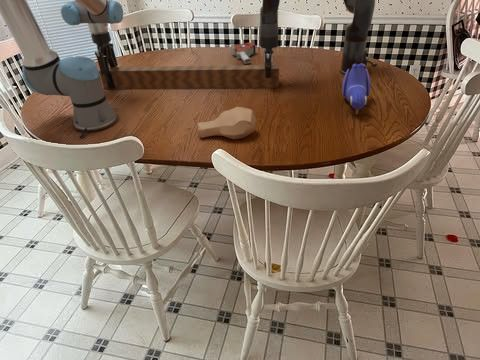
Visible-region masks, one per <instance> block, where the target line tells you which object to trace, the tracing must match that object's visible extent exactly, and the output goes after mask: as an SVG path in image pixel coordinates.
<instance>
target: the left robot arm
mask: <svg viewBox="0 0 480 360" xmlns="http://www.w3.org/2000/svg"><path fill="white" fill-rule="evenodd" d="M60 14H61V18H62V19H63V21H64V22H65V23H66V24H67V25H69V26H73V27H74V26H79V25H80V24H87V25H88V26H87V27H88V30H89V34H90V36H91V40H92V43H93V44H95V45H96V49H97V51H94V55H95V57H96V60H97V63H98V66H97V64H96V62H95V61H94V60H93V59H92V58H89V57H86V56H82V55H81V56H80V55H79V56H78V55H76V56H67V57H64V58H62V59H61V58H60V57H59V55H58V54H59V53H58V52H57V51H55V50H53V49H51V48H50V45H49V44H48V42H47V40H46V38H45V36H44V33H43V32H42V30H41V28H40V25H39V23H38V21H37V19H36V17H35V15H34V13H33V11H32V9H31V7H30V5H29V3H28V1H27V0H0V16H1V17H2V20H3V21H4V23H5V25H6V27H7V29H8V30H9V32H10V34H11V36H12V37H13V39H14V41H15V43H16V45H17V46H18V49H19V50H20V52H21V54H22V56H23V58H22V61H21V63H22V69H21V72H22V74H21V76H22V79H23V82H24V84H25V85H26V87H27V88H28V89H30V90H31V91H32V92H34V93H36V94H39V95H45V96H60V97H61V96H62V97H69V99H70V101H71V104H72V108H73V114H72V117H73V118H72V119H73V125H74V128H75V129H76V131H78V132H81V133H80V135H79V138H80V139H82V138H83V137H84V135H85V134H86V133H92V132H99V131H102V130H105V129H107V128H110V127H111V126H113V125H115V124H116V122H117V121H118V116H117V113H116V111H115V107H112V105H111V103H110V102H109V101H108V99H107V96H106V92H105V89H104V87H103V84H102V80H101V77H100V73H99V71H101V74H102V75H105V77H106V81H107V84H108V88H109V89H108V90H114V89H113V88H115V86H114V82H113V79H112V75H111V74H110V71H109V67H119V64H118V60H117V57H116V56H117V55H116V53H115V49H114V43H113V42H112V37H111V33H110V31H109V24H111V25H113V24H120V23H122V22H123V19H124V9H123V7H122V5H121V3H120V2H118V1H116V0H74V1H71V2H70V1H69V2H66V3H64V4H63V5H62V6H61V7H60ZM111 42H112V43H111ZM98 67H99V69H98Z"/></svg>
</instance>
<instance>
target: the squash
mask: <svg viewBox="0 0 480 360" xmlns="http://www.w3.org/2000/svg"><path fill="white" fill-rule="evenodd" d="M256 124H257V117H256V116H255V114H254V112H253V110H252V108H246V107H243V106H236V107H234V108H231V109H227V110H224V111H222V112H221V113H220V114H219V115H218V117H217V118H215V119H213V120H209V121H208V120H207V121H200V122H198V123H197V135H198V137H200V138H206V137H207V138H208V137H212V136H213V137H214V136H223V137H226V138H228V139H231V140H239V139H245V138H247V137H248V136H250V135H251V134H253V133H255V128H256Z"/></svg>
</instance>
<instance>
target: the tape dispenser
mask: <svg viewBox="0 0 480 360" xmlns="http://www.w3.org/2000/svg"><path fill="white" fill-rule="evenodd" d="M230 53H231V54H232V55H233V57H234V56H235V57H236V58H237V60H242V62H243V64H244V65H249V64H250V63H251V62H252V59H251V56H253V55H256V43H255V42H254V41H252V42H243V43H239V44H238V43H237V44H231V45H230Z"/></svg>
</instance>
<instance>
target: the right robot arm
mask: <svg viewBox="0 0 480 360" xmlns="http://www.w3.org/2000/svg"><path fill="white" fill-rule="evenodd" d="M280 1H281V0H262V6H261V7H260V9H259V29H258V30H259V33H258V35H259V47H260V48H261V49H265V50H264V51H263V64H264V65H265V69H266V78H271V68H272V67H271V65H273V62H274V54H275V51H274V49H275V48H278V47H279V7H280ZM343 4H344V7H345V9H346V10H347V12H349V13H350V14H352V15H353V17H352V22H349V23H347V24H346V26H345V31H344V33H345V34H344V41H343V49H342V59H341V66H340V72H341V73H342V74H344V75H345V73H346V71H347V70H348V69H349V72H350V70H351V69H352V65H354V64H357V65H359V64H361V63H362V64H365V67H367V66H368V63H369V64H370V65H371V66H372V67H375V66H377V65H378V63H373V62H372V61H371V60H368V58H367V53H368V50H367V49H366V47H367V42H368V34H369V28H370V27H371V25H372V21H373V17H374V12H375V6H376V0H343ZM267 65H270V66H267ZM365 67H363V68H364V69H365ZM349 72H348V74H349Z"/></svg>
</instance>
